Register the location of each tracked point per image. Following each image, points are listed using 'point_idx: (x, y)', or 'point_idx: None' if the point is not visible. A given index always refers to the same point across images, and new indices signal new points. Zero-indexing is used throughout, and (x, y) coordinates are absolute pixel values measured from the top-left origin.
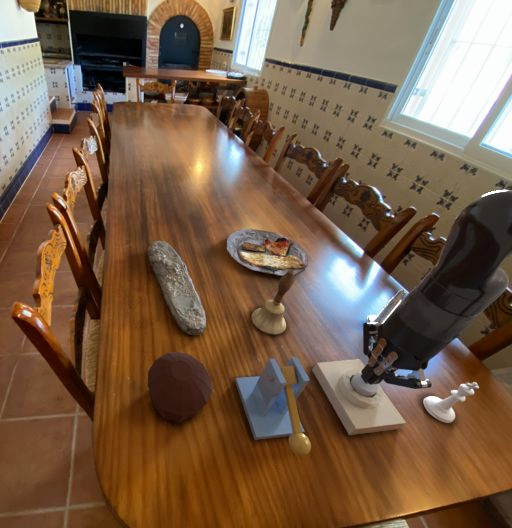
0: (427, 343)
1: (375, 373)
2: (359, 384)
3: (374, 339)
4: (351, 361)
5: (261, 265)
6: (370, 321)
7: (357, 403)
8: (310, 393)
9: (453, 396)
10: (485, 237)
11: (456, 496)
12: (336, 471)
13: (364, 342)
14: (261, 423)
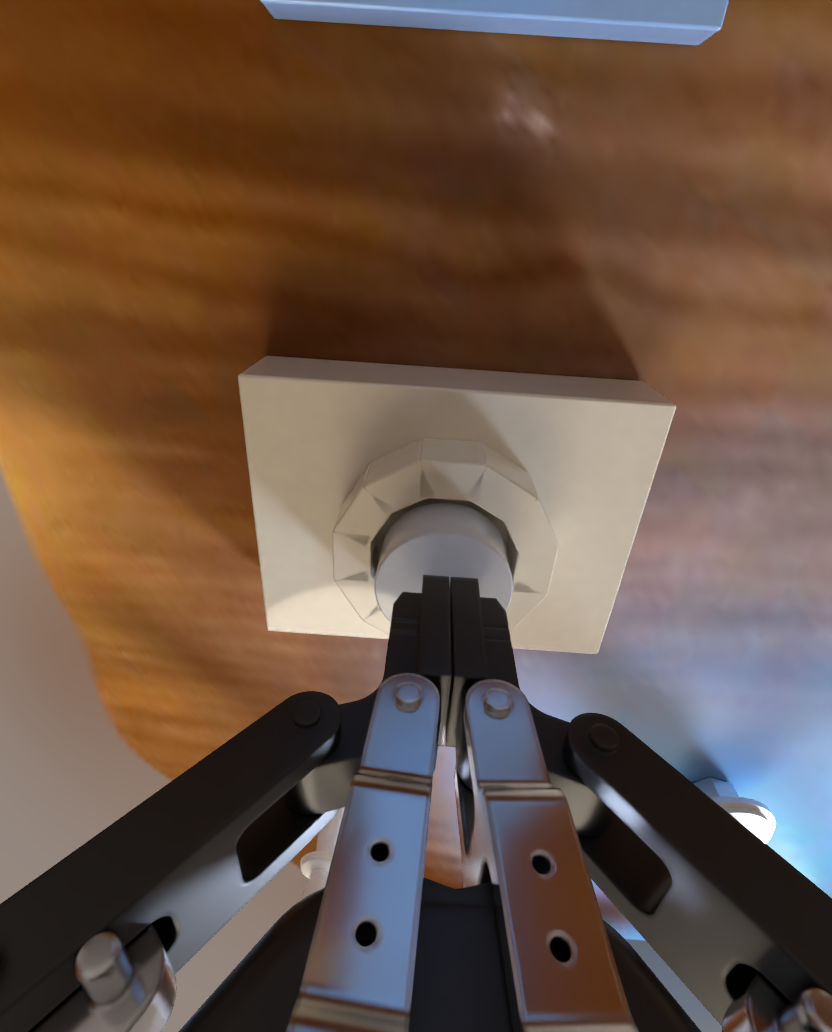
0: None
1: (411, 674)
2: (436, 540)
3: (695, 930)
4: (601, 609)
5: None
6: (746, 813)
7: (363, 473)
8: (513, 273)
9: (321, 853)
10: None
11: (66, 607)
12: (77, 144)
13: (706, 811)
14: None
